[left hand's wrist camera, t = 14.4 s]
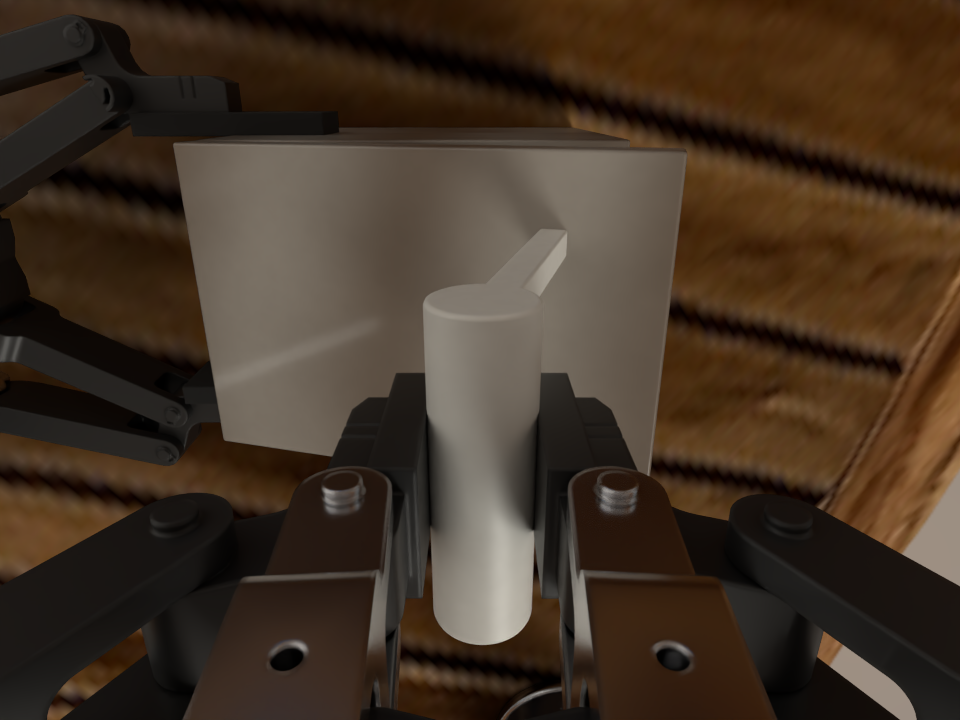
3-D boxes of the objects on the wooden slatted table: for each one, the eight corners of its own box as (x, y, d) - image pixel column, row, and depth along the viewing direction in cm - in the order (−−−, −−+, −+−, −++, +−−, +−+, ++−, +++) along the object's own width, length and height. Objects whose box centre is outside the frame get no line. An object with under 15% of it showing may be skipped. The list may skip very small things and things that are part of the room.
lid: (686, 148, 15) (709, 195, 7) (647, 482, 19) (634, 757, 11) (198, 140, 19) (-148, 166, 11) (243, 425, 22) (8, 604, 14)
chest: (573, 127, 29) (630, 140, 19) (563, 322, 33) (607, 421, 22) (291, 127, 29) (194, 140, 19) (311, 323, 32) (239, 424, 22)
